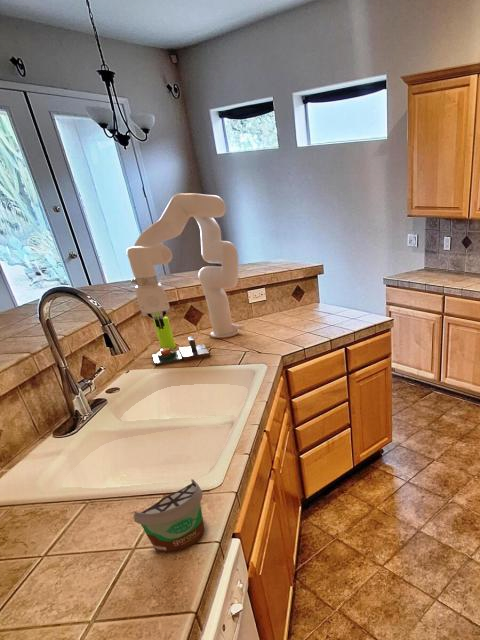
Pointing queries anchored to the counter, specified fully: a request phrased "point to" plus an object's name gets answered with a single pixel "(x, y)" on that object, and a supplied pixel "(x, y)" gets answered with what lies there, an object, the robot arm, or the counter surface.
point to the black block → (192, 344)
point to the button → (165, 351)
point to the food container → (174, 520)
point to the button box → (167, 358)
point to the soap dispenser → (165, 333)
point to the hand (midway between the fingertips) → (161, 328)
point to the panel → (194, 353)
